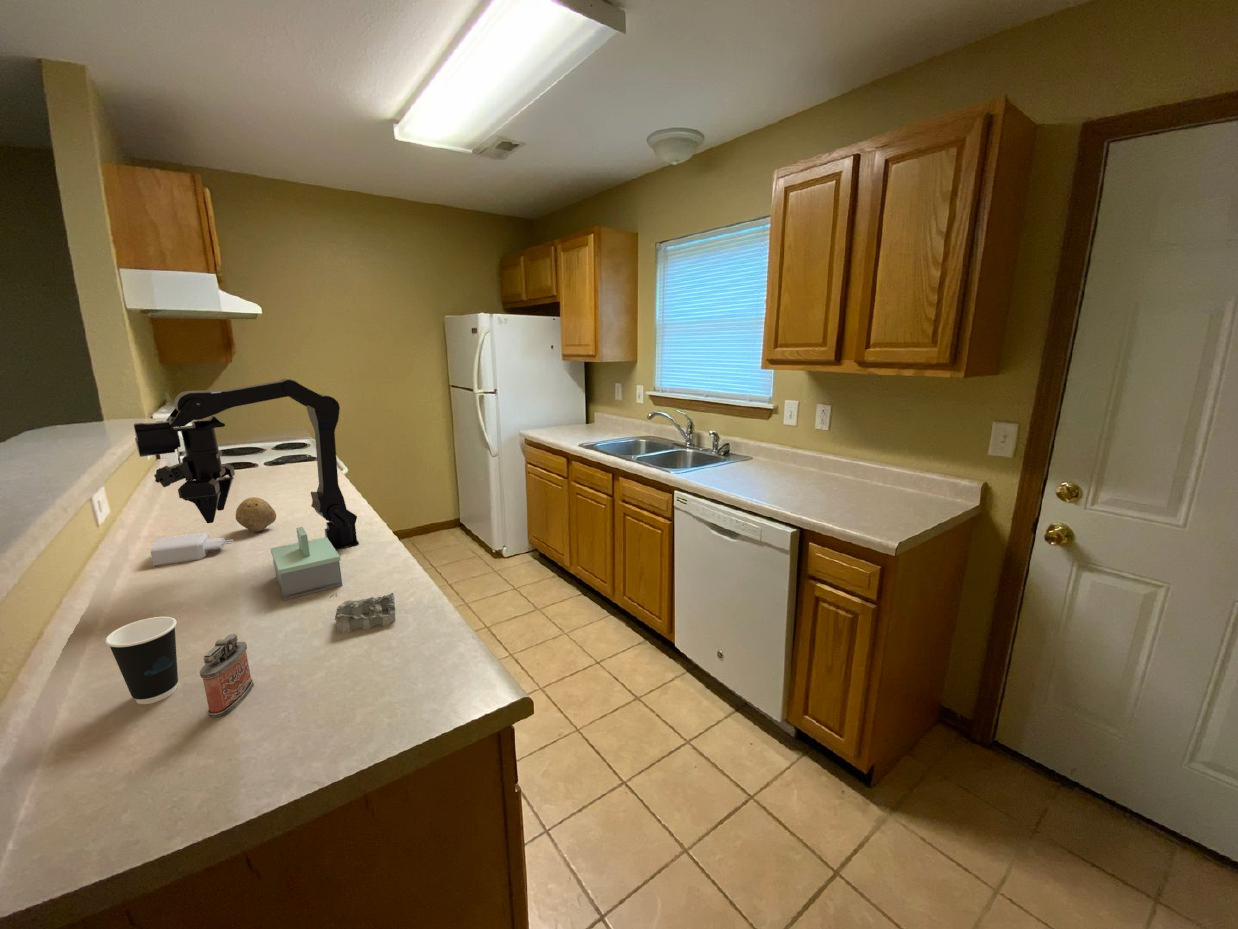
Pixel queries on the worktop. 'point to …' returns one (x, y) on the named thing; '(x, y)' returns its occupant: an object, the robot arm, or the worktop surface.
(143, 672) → the dixie cup
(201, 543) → the charger
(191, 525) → the worktop surface
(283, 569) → the lid
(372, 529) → the worktop surface
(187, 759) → the worktop surface
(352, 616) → the egg carton
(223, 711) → the lighter
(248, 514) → the brown potato
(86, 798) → the worktop surface
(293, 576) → the tub
